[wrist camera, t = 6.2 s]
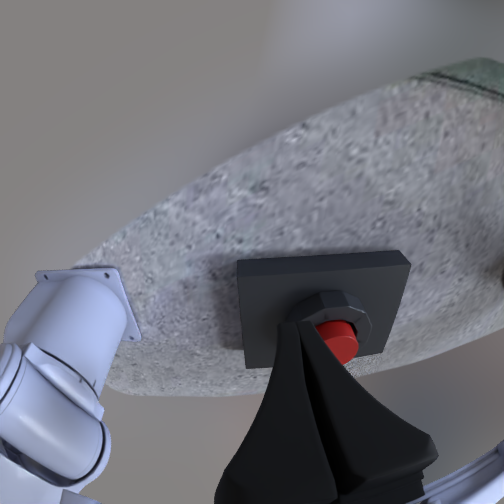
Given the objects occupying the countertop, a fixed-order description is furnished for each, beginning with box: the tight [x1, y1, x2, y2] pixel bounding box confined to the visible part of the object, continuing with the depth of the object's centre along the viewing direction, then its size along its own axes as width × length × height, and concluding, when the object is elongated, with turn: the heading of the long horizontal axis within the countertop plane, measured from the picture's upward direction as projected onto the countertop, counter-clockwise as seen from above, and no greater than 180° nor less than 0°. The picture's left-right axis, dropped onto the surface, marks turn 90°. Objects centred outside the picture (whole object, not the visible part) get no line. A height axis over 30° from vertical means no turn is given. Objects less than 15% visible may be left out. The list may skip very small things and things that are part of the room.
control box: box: [237, 250, 411, 369], centre depth 21 cm, size 13×10×4 cm
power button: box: [315, 320, 358, 365], centre depth 19 cm, size 4×4×2 cm
